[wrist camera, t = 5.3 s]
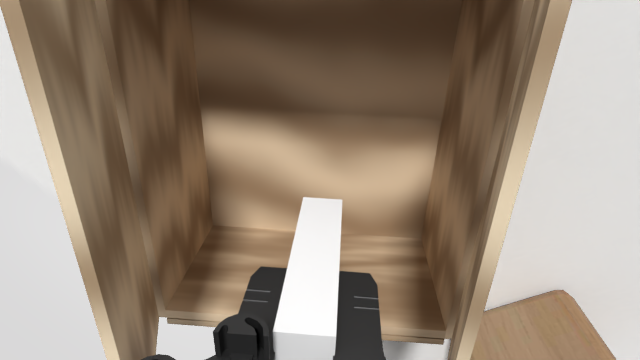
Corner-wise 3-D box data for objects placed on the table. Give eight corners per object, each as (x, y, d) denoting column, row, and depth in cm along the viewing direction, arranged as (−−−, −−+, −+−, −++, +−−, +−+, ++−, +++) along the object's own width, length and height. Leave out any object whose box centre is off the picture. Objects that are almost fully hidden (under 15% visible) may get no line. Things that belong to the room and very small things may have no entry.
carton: (175, -58, 24) (72, -79, 15) (478, -49, 23) (556, -67, 14) (208, 231, 34) (156, 322, 25) (425, 246, 33) (453, 345, 24)
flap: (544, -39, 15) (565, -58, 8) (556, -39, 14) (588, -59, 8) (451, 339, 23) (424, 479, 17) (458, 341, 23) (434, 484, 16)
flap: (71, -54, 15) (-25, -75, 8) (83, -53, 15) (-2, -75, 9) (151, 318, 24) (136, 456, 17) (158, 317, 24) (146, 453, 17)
